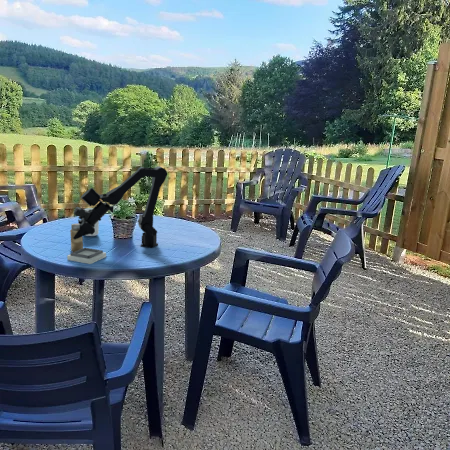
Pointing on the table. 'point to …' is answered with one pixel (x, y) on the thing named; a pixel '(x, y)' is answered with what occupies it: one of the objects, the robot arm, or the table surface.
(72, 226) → the pepper mill
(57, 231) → the table surface
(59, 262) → the table surface
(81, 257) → the stand
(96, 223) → the cup
